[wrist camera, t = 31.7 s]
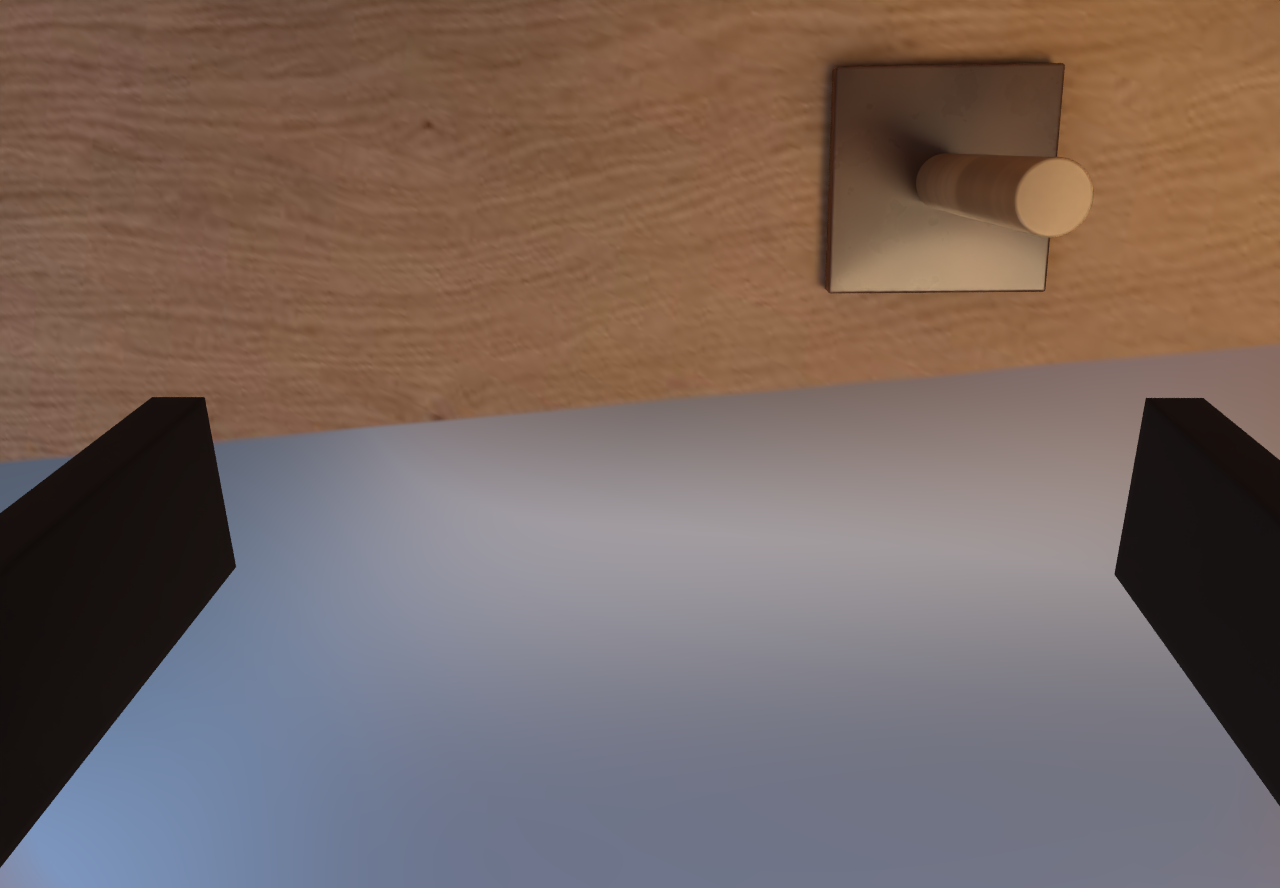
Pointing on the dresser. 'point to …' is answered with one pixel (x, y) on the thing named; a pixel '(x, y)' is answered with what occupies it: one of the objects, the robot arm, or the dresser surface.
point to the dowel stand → (948, 178)
